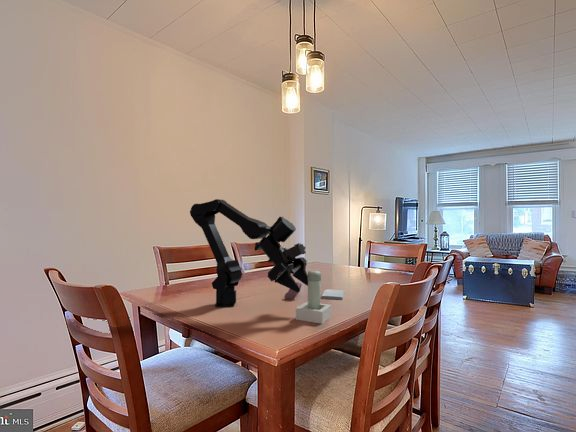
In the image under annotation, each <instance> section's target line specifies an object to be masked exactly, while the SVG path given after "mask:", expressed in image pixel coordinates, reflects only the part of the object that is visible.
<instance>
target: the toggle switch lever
mask: <svg viewBox="0 0 576 432" xmlns="http://www.w3.org/2000/svg"><path fill="white" fill-rule="evenodd" d="M307 275H308V286H307V302H308V308H309V309H316V310H320V303H321V301H322V300H321V296H322V293H321V292H322V290H321V289H322V287H321V285H322V271H319V270H310V271H309V270H308V271H307Z"/></svg>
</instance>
